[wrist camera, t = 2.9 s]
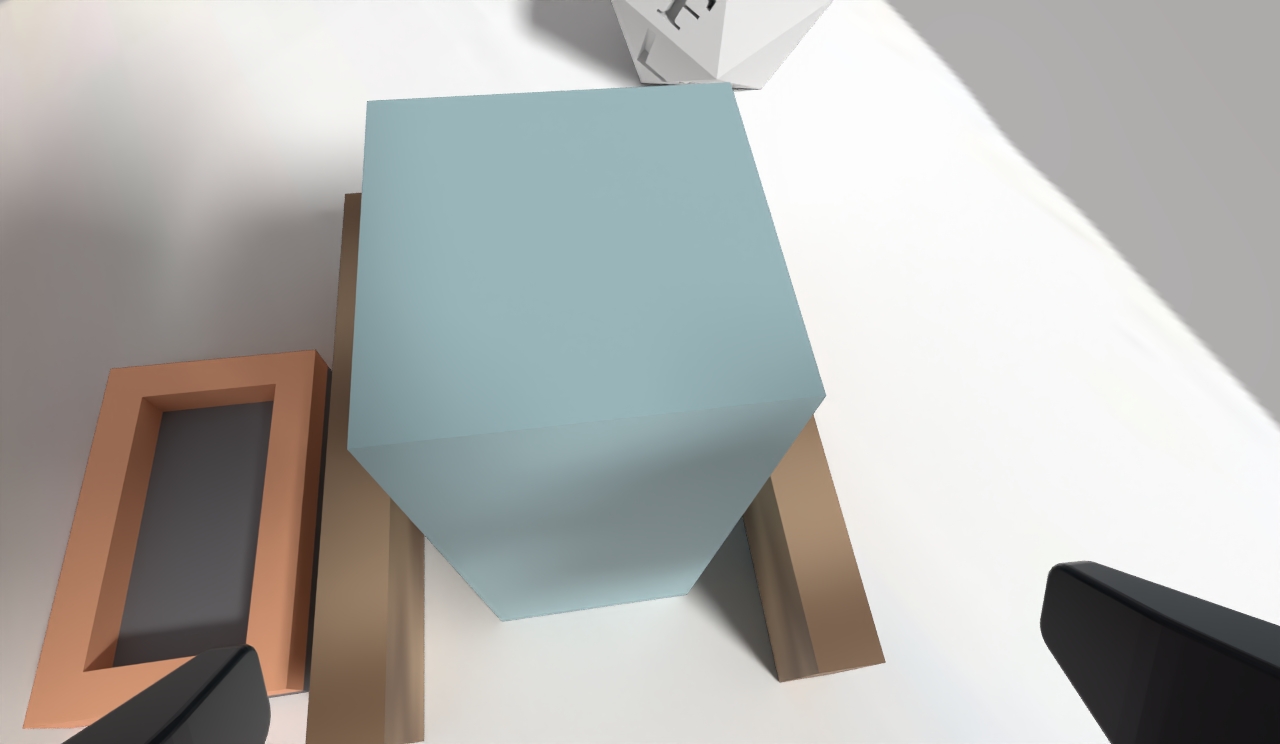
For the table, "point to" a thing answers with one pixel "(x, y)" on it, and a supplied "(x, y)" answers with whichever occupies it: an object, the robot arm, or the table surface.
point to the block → (572, 337)
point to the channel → (394, 572)
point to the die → (714, 38)
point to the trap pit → (190, 532)
